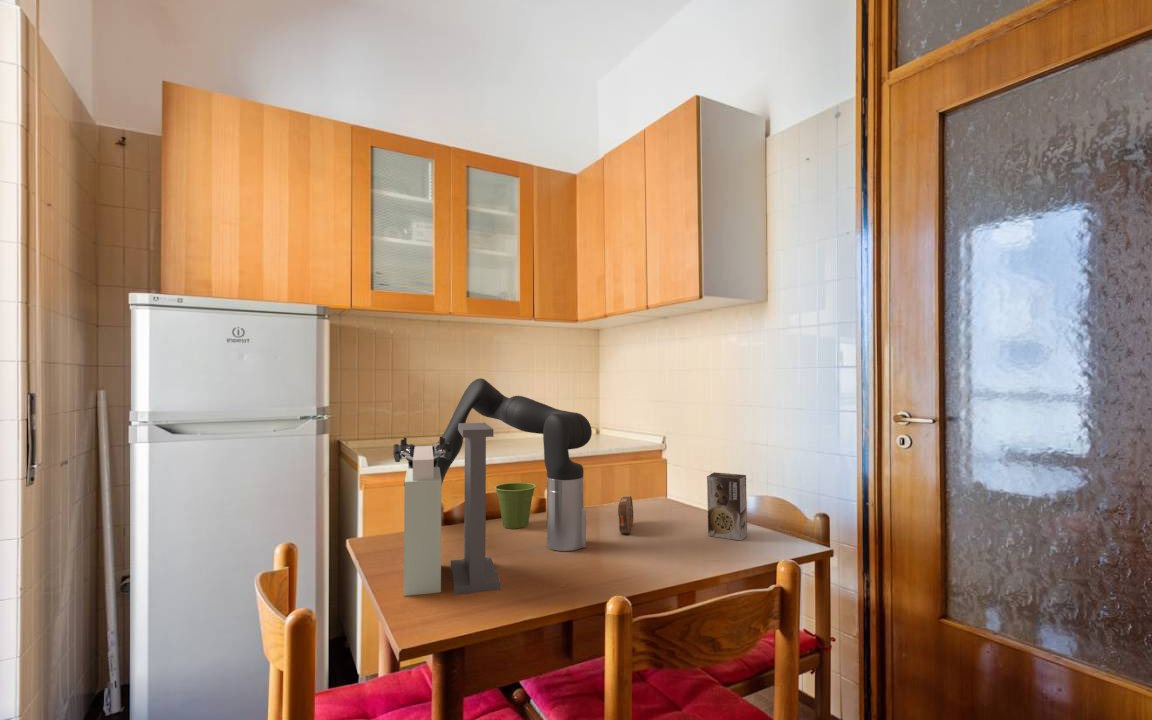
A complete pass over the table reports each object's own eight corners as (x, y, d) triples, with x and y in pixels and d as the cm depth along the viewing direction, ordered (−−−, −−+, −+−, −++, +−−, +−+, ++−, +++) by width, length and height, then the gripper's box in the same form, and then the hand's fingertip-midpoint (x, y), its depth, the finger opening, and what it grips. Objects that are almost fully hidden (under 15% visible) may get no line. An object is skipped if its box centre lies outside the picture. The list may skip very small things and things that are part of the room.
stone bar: (432, 462, 131) (432, 445, 131) (433, 479, 109) (433, 459, 110) (414, 463, 130) (414, 446, 130) (412, 480, 108) (412, 460, 108)
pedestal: (438, 565, 124) (439, 467, 124) (440, 592, 108) (441, 480, 109) (406, 568, 122) (407, 468, 122) (403, 596, 106) (404, 482, 107)
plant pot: (536, 520, 162) (536, 481, 163) (535, 531, 151) (535, 490, 151) (496, 520, 162) (496, 482, 162) (492, 532, 150) (492, 490, 150)
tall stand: (491, 563, 125) (491, 422, 126) (500, 589, 109) (500, 429, 110) (450, 567, 122) (451, 423, 123) (454, 594, 107) (455, 430, 108)
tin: (628, 537, 145) (628, 505, 145) (616, 536, 146) (616, 505, 146) (634, 522, 160) (634, 493, 160) (623, 522, 160) (623, 493, 161)
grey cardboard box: (748, 535, 147) (747, 474, 147) (741, 541, 141) (740, 478, 142) (714, 530, 152) (714, 471, 152) (706, 535, 146) (706, 475, 147)
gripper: (395, 452, 147) (393, 427, 134) (449, 450, 151) (452, 425, 138) (394, 479, 143) (392, 456, 130) (450, 476, 147) (453, 453, 134)
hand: (423, 440), depth 134 cm, fingers open, 8 cm apart
